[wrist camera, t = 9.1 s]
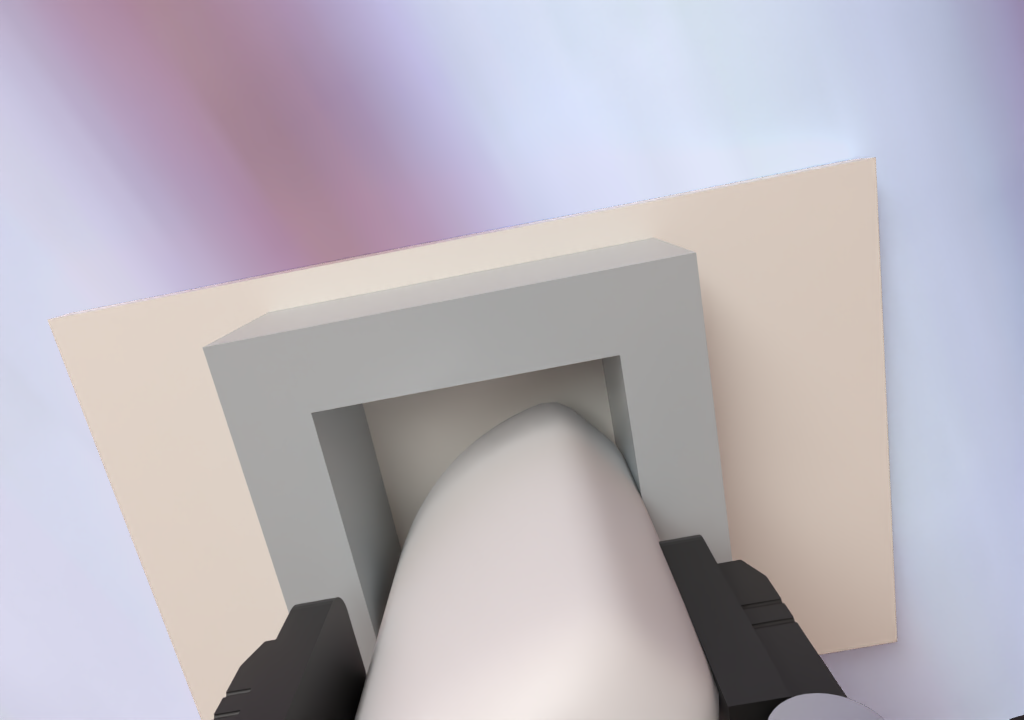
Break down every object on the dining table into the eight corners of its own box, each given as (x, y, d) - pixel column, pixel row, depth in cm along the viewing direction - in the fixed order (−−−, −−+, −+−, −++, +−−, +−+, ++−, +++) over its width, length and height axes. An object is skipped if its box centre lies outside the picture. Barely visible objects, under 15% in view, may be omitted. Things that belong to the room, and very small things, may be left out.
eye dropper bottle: (656, 547, 15) (1159, 1761, 3) (430, 623, 16) (214, 1913, 4) (594, 377, 14) (1023, 1315, 2) (354, 465, 14) (-256, 1605, 3)
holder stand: (71, 313, 15) (-80, 357, 11) (855, 159, 14) (985, 149, 10) (227, 731, 18) (152, 879, 14) (879, 621, 17) (986, 745, 14)
